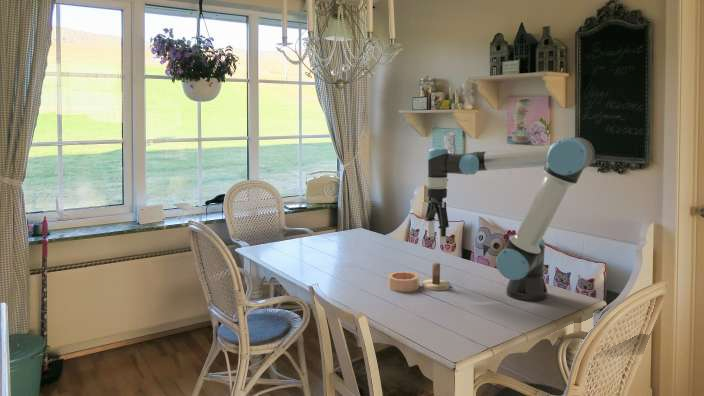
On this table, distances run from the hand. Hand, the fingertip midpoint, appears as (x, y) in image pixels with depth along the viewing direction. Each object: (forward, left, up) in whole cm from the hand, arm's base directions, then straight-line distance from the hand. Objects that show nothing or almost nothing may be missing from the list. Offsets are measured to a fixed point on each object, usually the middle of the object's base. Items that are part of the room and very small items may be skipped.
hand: (436, 240), depth 211 cm
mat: (0, 0, -20) cm, 20 cm away
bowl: (+2, +13, -20) cm, 24 cm away
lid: (0, 0, -19) cm, 19 cm away
